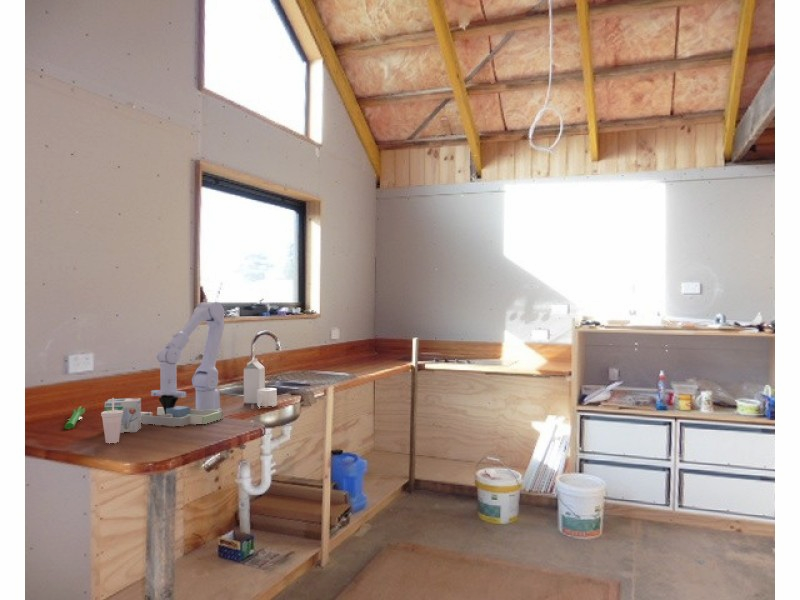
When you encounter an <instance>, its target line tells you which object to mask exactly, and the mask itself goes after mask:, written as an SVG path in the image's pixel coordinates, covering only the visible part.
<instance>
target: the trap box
mask: <svg viewBox="0 0 800 600" xmlns="http://www.w3.org/2000/svg"><path fill="white" fill-rule="evenodd" d="M156 409H157V410H156V411H157V412H156V415H153V412H151V411H149V412H148V411H141V423H142V424H141V425H148V424H153V425H152V426H161V425H169V426H168V427H175V426H182V427H185V426H184V425H186V426H188V424H189V425H196V424H206V425H208V424H207V423H209V424H211V423H210V422H212V423H214V422H213V421H215V422H217V421H216V420H218V421H221V420H223V410H209V409H205V410H197V409H196V408H190V414H187V416H185V417H181V418H176V417H172V414H165V412H164V408H163V406H158V407H157V408H156ZM220 419H221V420H220ZM154 424H155V425H154Z"/></svg>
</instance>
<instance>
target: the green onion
mask: <svg viewBox="0 0 800 600" xmlns="http://www.w3.org/2000/svg"><path fill="white" fill-rule="evenodd" d="M72 411H73V413H72V415H70V418H68V419H67V420H69V421H67V422H66V423H65V425H64V429H65V430H67V429H68V428H73V429H74V428H75V425H76V424H77V422H78V420H80V419H81V420H82V419H83V417H82V415H83V414H85V412H86V409H85V407H83V408H82V405H81V406H80V405H79V407H78V408H77V410H76V409H75V408H73V409H72ZM81 420H80V421H81ZM68 430H69V429H68Z"/></svg>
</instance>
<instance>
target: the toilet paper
mask: <svg viewBox="0 0 800 600" xmlns="http://www.w3.org/2000/svg"><path fill="white" fill-rule="evenodd" d="M277 391H278V389H277V388H275V387H265V388H261V389H257V403H256V406H258V407H259V408H258V407H257V408H258V409H259V410H260V409H261V407H260V406H264V405H268V406H269V405H270V406H272V407H271V408H273V407H276V406H277V405H278V404H277V403H278V399H277V398H278V396H277V395H278V393H277Z"/></svg>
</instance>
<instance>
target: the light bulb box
mask: <svg viewBox="0 0 800 600" xmlns="http://www.w3.org/2000/svg"><path fill="white" fill-rule="evenodd" d="M141 404H142V398H141V397H134V398H133V397H132V398H114V410H122V411H123V415H122V421H121V429H120V434H125V433H124V432H130V433H138V432H139V431H140V430H141V429H142V424H141V412H142V405H141ZM110 410H112V398H110V399H108V400H106V401H105V402H104V411H110ZM139 429H140V430H139ZM138 430H139V431H138ZM137 431H138V432H137Z"/></svg>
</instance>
